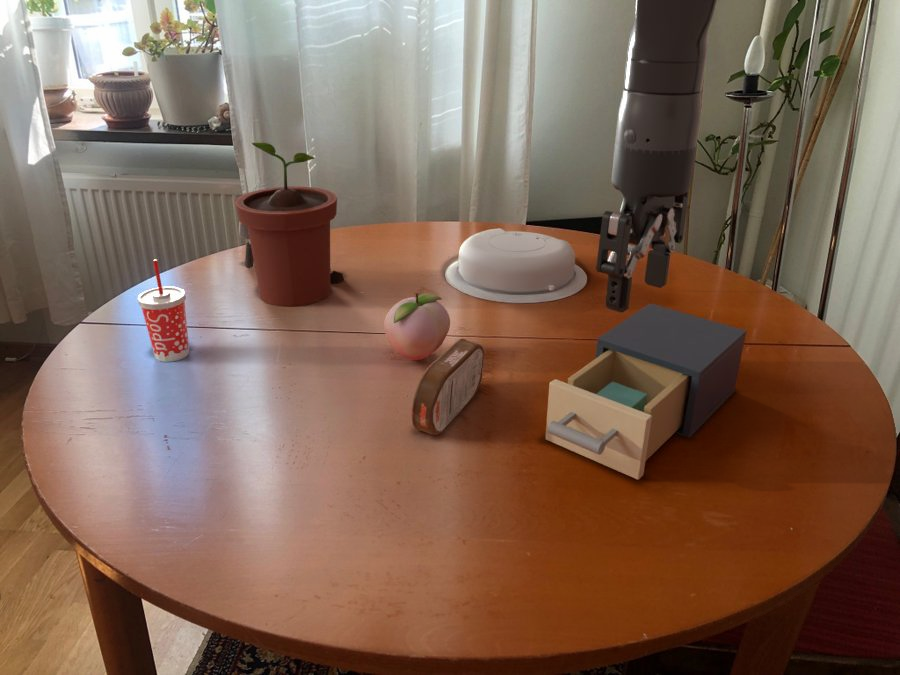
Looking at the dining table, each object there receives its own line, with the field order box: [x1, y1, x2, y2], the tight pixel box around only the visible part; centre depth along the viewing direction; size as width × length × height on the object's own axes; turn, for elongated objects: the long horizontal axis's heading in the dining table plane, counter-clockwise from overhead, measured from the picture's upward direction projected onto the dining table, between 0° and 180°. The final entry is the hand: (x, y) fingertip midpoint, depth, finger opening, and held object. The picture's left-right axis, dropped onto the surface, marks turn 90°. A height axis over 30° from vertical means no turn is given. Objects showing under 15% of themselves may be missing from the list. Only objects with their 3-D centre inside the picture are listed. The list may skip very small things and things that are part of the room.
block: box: [596, 382, 647, 412], centre depth 83 cm, size 4×4×4 cm
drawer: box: [545, 349, 691, 480], centre depth 81 cm, size 17×12×7 cm
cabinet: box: [595, 303, 747, 439], centre depth 91 cm, size 14×13×9 cm
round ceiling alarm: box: [444, 228, 588, 304], centre depth 130 cm, size 25×25×6 cm
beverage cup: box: [136, 258, 190, 363], centre depth 101 cm, size 6×6×14 cm
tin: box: [411, 338, 486, 436], centre depth 88 cm, size 15×3×8 cm, turn 154°
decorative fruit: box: [383, 292, 451, 361], centre depth 100 cm, size 9×8×10 cm
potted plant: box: [234, 142, 345, 307], centre depth 121 cm, size 18×22×25 cm
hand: (636, 296), depth 77 cm, fingers open, 8 cm apart
